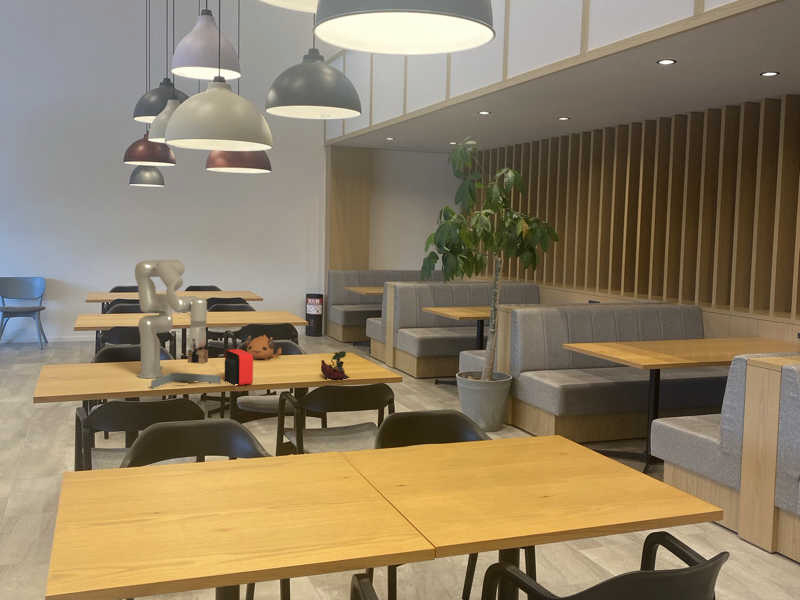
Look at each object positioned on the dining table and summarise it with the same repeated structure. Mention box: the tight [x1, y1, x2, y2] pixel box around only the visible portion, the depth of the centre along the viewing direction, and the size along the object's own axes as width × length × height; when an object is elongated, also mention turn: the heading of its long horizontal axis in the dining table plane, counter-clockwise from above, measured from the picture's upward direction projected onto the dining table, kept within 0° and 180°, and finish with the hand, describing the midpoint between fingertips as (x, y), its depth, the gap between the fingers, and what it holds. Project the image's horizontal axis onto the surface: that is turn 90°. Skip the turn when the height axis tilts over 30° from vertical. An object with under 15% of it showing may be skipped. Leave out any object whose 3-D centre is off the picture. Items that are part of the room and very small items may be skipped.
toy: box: [244, 334, 282, 361], centre depth 454 cm, size 19×17×15 cm
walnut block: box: [187, 348, 209, 365], centre depth 371 cm, size 5×8×6 cm, turn 80°
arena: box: [150, 372, 222, 388], centre depth 375 cm, size 22×26×4 cm
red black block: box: [224, 348, 254, 386], centre depth 386 cm, size 10×20×16 cm, turn 33°
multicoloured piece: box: [320, 350, 350, 380], centre depth 402 cm, size 14×15×15 cm
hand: (197, 360), depth 371 cm, fingers closed on walnut block, 5 cm apart
